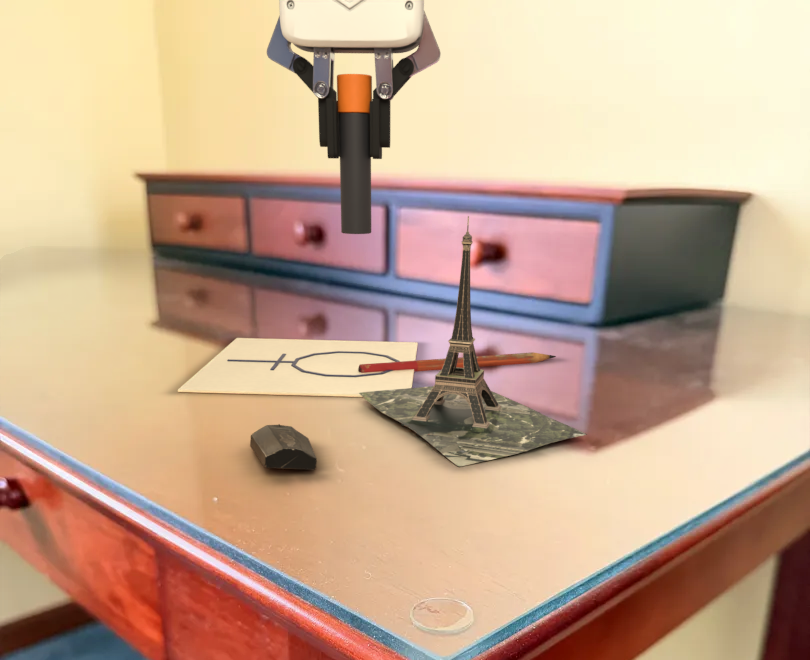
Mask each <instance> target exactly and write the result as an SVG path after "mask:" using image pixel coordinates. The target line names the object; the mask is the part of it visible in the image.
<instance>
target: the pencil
mask: <svg viewBox="0 0 810 660" xmlns="http://www.w3.org/2000/svg"><path fill="white" fill-rule="evenodd" d="M476 357H477V362H478V365H479V368H482V367H483V368H485V367H496V366H497V367H499V366H511V365H512V366H513V365H526V364H527V365H528V364H535V363H540V362H543V361H546V360H550V359H554V358H556V357H557V356H556V355H551V354H546V353H539V352H534V351H533V352H518V353H504V354H491V355H489V354H488V355H476ZM445 359H446V357H445V358H431V359H418V360H417V359H416V361H402V362H388V363H373V364H360V365H359V368H358V371H359V372H361V373H367V372H381V371H386V370H393V371H395V370H409V369H414V373H415V372H429V371H430V372H431V371H441V370H442V368H443V365H444V362H445ZM456 367H458V368H464V366H463V356H461V357H459V356H458V361H457V366H456Z"/></svg>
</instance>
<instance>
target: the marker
mask: <svg viewBox="0 0 810 660" xmlns="http://www.w3.org/2000/svg"><path fill="white" fill-rule="evenodd" d="M336 92H337V101H338V113H339V140H340V157H339V178H340V179H339V181H340V183H339V184H340V185H339V186H340V224H341V225H340V230H341V231H340V232H341V233H342V234H346V235H368V234H371V233H372V157H370V101H372V99H373V76H372V75H370V74H366V73H365V74H364V73H342V74H337V75H336Z"/></svg>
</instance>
